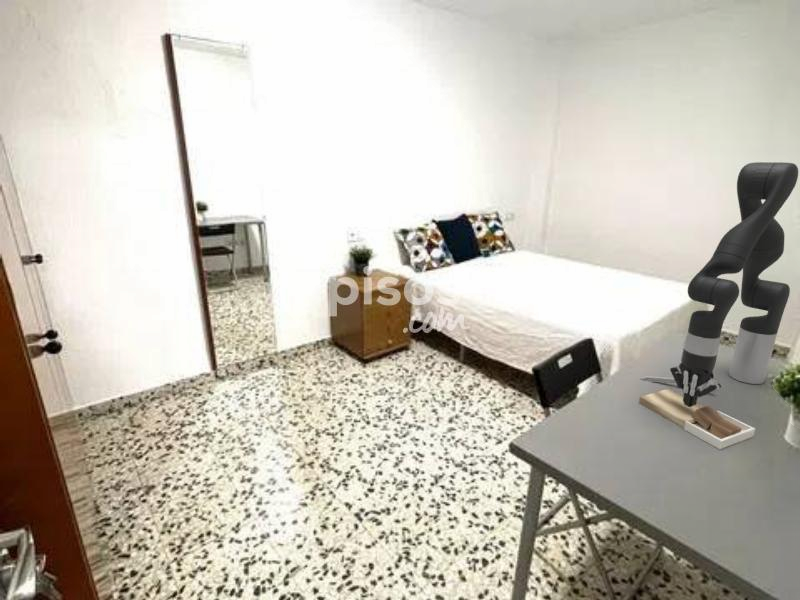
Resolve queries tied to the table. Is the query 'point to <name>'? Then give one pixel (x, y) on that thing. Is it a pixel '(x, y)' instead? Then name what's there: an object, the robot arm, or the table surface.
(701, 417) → the brown square block
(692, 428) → the tray
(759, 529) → the table surface
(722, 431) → the tile front
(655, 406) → the beige square panel
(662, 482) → the table surface
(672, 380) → the caliper
